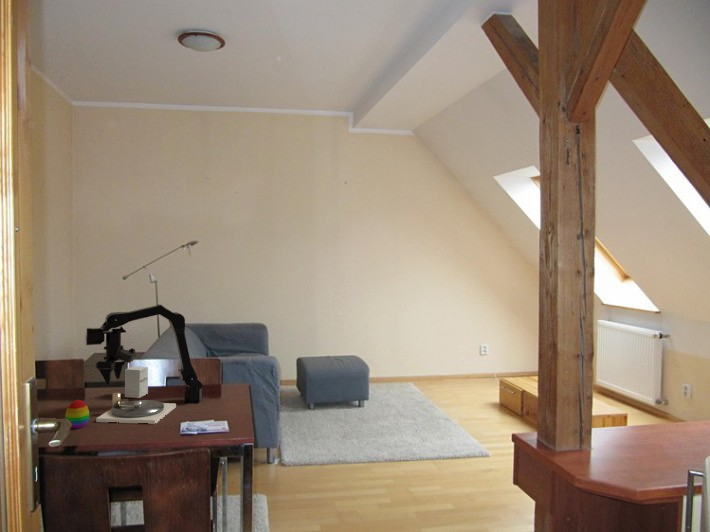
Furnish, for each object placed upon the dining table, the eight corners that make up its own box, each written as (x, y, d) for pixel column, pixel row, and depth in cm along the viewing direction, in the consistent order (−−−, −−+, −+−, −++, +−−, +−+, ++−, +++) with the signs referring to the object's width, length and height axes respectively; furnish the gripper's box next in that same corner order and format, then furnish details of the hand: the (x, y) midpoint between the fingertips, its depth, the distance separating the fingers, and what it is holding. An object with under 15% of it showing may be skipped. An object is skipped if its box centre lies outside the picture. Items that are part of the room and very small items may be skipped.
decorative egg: (81, 421, 225) (81, 396, 225) (93, 425, 220) (93, 399, 220) (61, 426, 218) (60, 400, 218) (72, 431, 214) (72, 404, 213)
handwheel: (171, 404, 245) (171, 389, 244) (151, 418, 225) (151, 402, 224) (124, 401, 246) (124, 387, 246) (100, 415, 227) (100, 400, 226)
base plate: (175, 407, 247) (175, 403, 247) (155, 424, 224) (155, 419, 224) (122, 405, 248) (122, 401, 248) (96, 422, 225) (96, 417, 225)
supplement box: (139, 398, 259) (139, 370, 258) (124, 397, 260) (124, 369, 260) (148, 394, 266) (148, 366, 265) (133, 393, 267) (133, 365, 267)
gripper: (123, 348, 230) (123, 387, 230) (141, 340, 248) (141, 376, 249) (95, 347, 230) (95, 386, 230) (115, 339, 248) (115, 375, 249)
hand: (113, 381), depth 240 cm, fingers open, 9 cm apart
